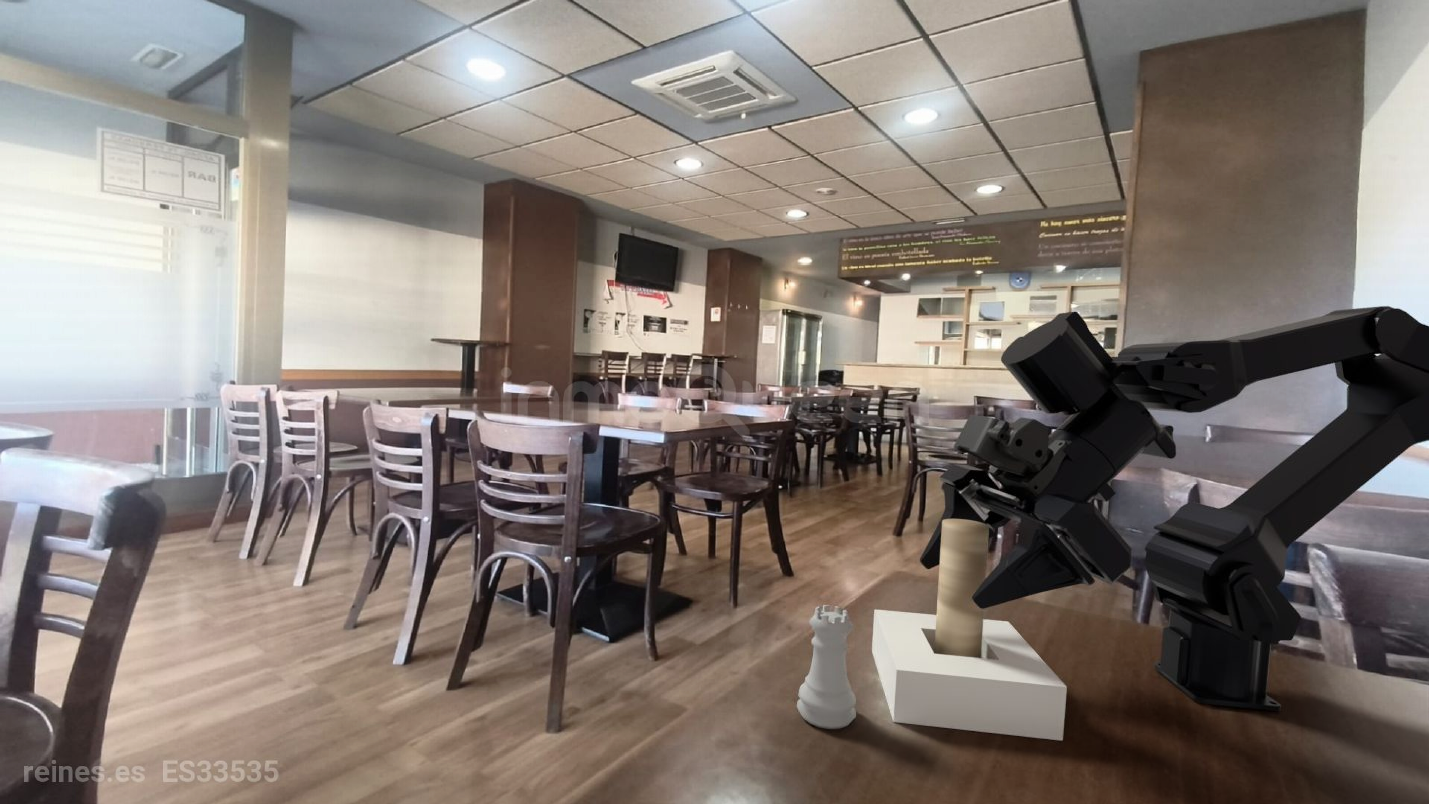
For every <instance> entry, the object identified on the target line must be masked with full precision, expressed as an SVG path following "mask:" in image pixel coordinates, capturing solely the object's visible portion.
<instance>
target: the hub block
mask: <svg viewBox="0 0 1429 804" xmlns="http://www.w3.org/2000/svg"><path fill="white" fill-rule="evenodd" d="M936 616H937V614H929V613H921V612H920V613H919V612H908V611H907V612H905V611H897V610H885V609H874V612H873V626H872V627H873V628H872V640H871V641H872V642H871V643H872V644H871V652H872V657H873V660H874V663H875V666H876V670H877V672H878V673H877V674H878V676H879V679H880V682H881V683H880V684H881V685H882V689H883V692H884V694H885V699H886V702H887V705H888V708H889V712H890V715H891V718H892V722H893V723H901V724H908V725H909V724H910V725H917V726H927V727H936V728H946V729H955V730H961V731H962V730H963V731H974V732H981V733H991V734H998V735H1009V736H1016V737H1017V736H1019V737H1026V738H1036V739H1044V740H1046V739H1047V740H1054V741H1064V740H1063V739H1064V728H1065V717H1066V716H1065V715H1066V703H1067V689H1068V688H1067V685H1066V684H1065V683H1064V682H1063V681H1062V680H1061V679H1060V678H1059V676H1058V675H1057V674H1056V673H1055V672H1054V670H1052V669H1051V667H1049V665H1048V664H1047V663H1046V662H1045V661H1044V660H1043V659H1042V658H1041V656H1040V655H1039V654H1038V653H1037V652H1036V651H1035V649H1033V647H1032V646H1031V645H1030V644H1029V643H1028V642H1027V640H1026V639H1024V638H1023V637H1022V635H1021V634H1020V633H1019V632H1018V631H1017V629H1015V627H1014V626H1013V625H1012V624H1011V623H1010V621H1006V620H994V619H985V618H983V632H982V648H981V658H974V657H964V656H954V655H943V654H934V649H935V632H936Z"/></svg>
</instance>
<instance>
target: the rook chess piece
mask: <svg viewBox="0 0 1429 804" xmlns="http://www.w3.org/2000/svg"><path fill="white" fill-rule="evenodd" d="M830 609H831V608H830V604H827V605H826V604H823V605H822V607H821V606H819V605H818V606H816V607H815V609H814V614H813V616H812V617H811V618H810V619H809V622H808V623H809V625H810V627H811V628H812V629H813V631H814V636H813V638H811V642H810V643H811V644H812V646H813V653H812V660H811V665H810V669H809V671H808V675H806V676H805V678H804V682H803V683H802V684H801V685H800V687H799V690H798V694H797V696H798V697H799V699H798V700H797V702H796V703H797V704H796V708H797V710H798V712H799V713H800V715H801V717H802V718H803V720H805V722H808V723H809V724H810V725H813V726H815V727H817V728H821V729H825V730H840V729H843V728H845V727H848V726H849V725H850V723H852V721H853V720H854V719H855V718H856V717H857V712H856V708H855V706H856V705H857V703H856V701H857V700H856V696H855V694H856V693H854V691H853V690H852V689H851V683H850V682H849V680H848V679H849V678H848V676H847V664H846V663H847V662H846V655H847V654H846V651H847V650H848V649H849V648H850V646H849V645H850V644H849V643H848V642H847V636H848V635H849V634H850V632H852V631H853V629H854V625H853V623H852V622H851V620H850V618H849V616H850V615H849V614H850V613H849V610H847V609H843V610H842V607H840V606H838V605H837V606H836V605H835V606H834V610H833V611H832V610H830Z"/></svg>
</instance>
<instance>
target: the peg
mask: <svg viewBox="0 0 1429 804" xmlns="http://www.w3.org/2000/svg"><path fill="white" fill-rule="evenodd" d="M988 537H989V526H988V525H986V524H984V523H981V522H977V521H972V520H965V519H945V520H943V521H942V532H941V549H940V565H938V566H939V569H938V570H939V571H938V583H937V585H938V586H937V598H936V599H937V601H936V602H937V603H936V604H937V605H936V615H937V616H936V632H935V649H934V654H943V655H954V656H964V657H974V658H981V648H982V632H983V619H984V615H985V614H984V613H985V609H981V608H979V607H978V606H977V605H976V604H975V603H974V602H973V600H972V596H973V594H974V593H975V592H976V590H977V589H978V588H979V586H980V585H981V584H982V582H983V581H984V580H985V579H986V578H987V566H988V552H989V551H988V550H989V549H988V547H989V539H988Z"/></svg>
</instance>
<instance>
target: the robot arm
mask: <svg viewBox="0 0 1429 804" xmlns="http://www.w3.org/2000/svg"><path fill="white" fill-rule="evenodd" d="M1000 358H1001V359H1000V362H1001V363H1002V365H1004V367H1005V368H1006V369H1007V370H1008V372H1010V374H1011V375H1012V376H1013V377H1014V379H1015V380H1016V381H1017V382H1018V384H1019V385H1020V386H1021V387H1022V389H1024V391H1025V392H1026V393H1027V394H1028V395H1029V396H1030V398H1031V399H1032V400H1033V402H1034V403H1035V404H1036V405H1037V406H1038V407H1039V408H1040V409H1041V411H1042V412H1044V413H1046V414H1048V415H1049V414H1053V415H1054V414H1060V413H1061V415H1062V416H1063V415H1064V416H1068V417H1067V418H1066V419H1065V420H1064V421H1063V422H1062V423H1061V424H1060V425H1059V426H1058V427H1057V428H1056V429H1054V431H1052V432H1051V433H1050V427H1049V426H1047V425H1046V424H1044V423H1042V422H1041V421H1038V420H1037V419H1034V418H1028V417H1019V418H1018V419H1016V420H1015V421H1013V422H1012V423H1011V424H1010V422H1008V421H1006V420H1000V419H998V418H994V417H990V416H984V415H978V414H969V416H968V418H967V420H966V422H965V423H964V424H963V427H962V429H961V431H960V433H959V435H958V437H957V438H956V441H955V443H954V445H953V448H954V449H955V450H957V451H958V452H960V453H962V454H966V453H967V454H969V455H971V456H972V457H974V458H976V459H978V460H980V461H982V462H983V463H985V464H987V465H990V466H991V468H990V469H988V471H987V472H988V473H989V474H988V473H987V472H986V471H985V469H983V468H982V469H981V468H978V467H974V466H971V465H968V464H958V463H955V464H954V463H952V465H951V466H949V467H948V469H946V470H945V471H944V472H942V474H941V475H940V476H939V479H940V481H941V482H942V484H941V488H940V489H941V492H942V493H943V495H944V511H943V513H942V516H941V518H940V519H939V522H938V524H937V526H936V528H935V530H934V531H933V533H932V535H931V537H930V539H929V541H928V542H927V545H926V547H925V548H924V550H923V552H922V554H921V556H920V558H919V562H920V564H921V565H922V566H923V567H924V568H925V569H926V570H931V569H933V568H935V567H937V566H940V549H941V532H942V521H943V520H945V519H965V520H972V521H977V522H981V523H984V524H986V525H988V526H989V537H988V540H990V539H992V538H994V537H995V536H996V535H997V534H996V533H995V531H994V530H996V529H999V528H1003V527H1005V526H1006V525H1008V523H1009V522H1010V521H1014V522H1017V523H1019V529H1018V535H1017V536H1018V537H1017V541H1016V543H1015V545H1014V546H1013V547H1012V548H1011V550H1009V552H1008V553H1007V554H1006V555H1005V556H1004V557H1003V558H1002V560H1000V562H999V563H998V564H997V565H996V567H995V568H994V569H993V570H992V571H991V572H990V573H989V574H988V575H987V576H986V579H985V580H984V581H983V582H982V584H981V585H980V586H979V588H978V589H977V590H976V592H975V593H974V594H973V596H972V600H973V602H974V603H975V604H976V605H977V606H978V607H979V608H981V609H984V610H985V609H987V608H991V607H992V608H993V607H995V606H998V605H1002V604H1005V603H1008V602H1012V601H1015V600H1019V599H1022V598H1026V597H1029V596H1033V595H1036V594H1040V593H1041V594H1042V593H1044V592H1049V591H1054V590H1059V589H1063V588H1067V587H1072V586H1077V585H1083V584H1084V585H1086V586H1088V587H1089V586H1092V585H1093V584H1094V583H1095V582H1096V580H1095V579H1094V578H1096V579H1097V580H1100V581H1102V582H1104V583H1106V584H1108V585H1110V586H1112V585H1113V584H1114V583H1115V582H1116V581H1117V580H1119V579H1120V578H1121V577H1122V575H1124V574H1125V572H1127V571H1128V570H1129V569H1130V568H1131V561H1132V548H1131V546H1130V545H1129V544H1128V543H1127V541H1126V540H1125V539H1124V538H1123V537H1122V535H1121V534H1120V533H1119V532H1118V531H1117V530H1116V528H1115V527H1114V526H1113V524H1111V523H1110V522H1109V520H1108V519H1107V518H1106V517H1105V516H1104V515H1103V513H1102V512H1101V511H1100V510H1099V508H1098V507H1097V505H1095V504H1094V503H1091V501H1092V500H1093V499H1096V500H1100V501H1103V502H1106V503H1107V502H1108V501H1110V500H1111V499H1112V498H1113V497H1114V496H1115V495H1116V491H1114V489H1113V488H1112V487H1111V486H1110V485H1109V484H1110V483H1111V482H1112V481H1113V480H1114V479H1115V478H1116V477H1117V476H1118V475H1120V473H1122V471H1123V470H1124V469H1126V468H1127V467H1128V466H1129V465H1130V464H1131V463H1132V462H1134V460H1135V459H1136V458H1137V457H1138V456H1139V455H1146V456H1151V457H1158V458H1163V459H1170V460H1172V459H1175V458H1176V457H1177V446H1176V443H1175V439H1174V427H1173V426H1172V425H1169V424H1160V423H1159V422H1158V421H1157V420H1156V419H1155V417H1154V415H1153V414H1152V413H1151V412H1150V411H1151V410H1152V411H1160V412H1161V411H1162V412H1172V413H1173V412H1174V413H1186V414H1187V413H1189V414H1193V413H1196V414H1197V413H1202V412H1205V411H1208V410H1210V409H1212V408H1214V407H1217V406H1219V405H1221V404H1224V403H1226V402H1228V401H1230V400H1233V399H1235V398H1237V397H1238V396H1239V395H1240V394H1241V393H1242V392H1243V390H1244V389H1245V388H1246V387H1248V386H1250V385H1252V384H1254V383H1256V382H1259V381H1263V380H1265V381H1266V380H1269V379H1272V378H1277V377H1281V376H1285V375H1290V374H1293V373H1298V372H1301V371H1306V370H1310V369H1314V368H1318V367H1319V368H1320V367H1323V366H1328V365H1332V364H1334V368H1335V373H1336V377H1337V379H1339V380H1340V381H1342V382H1343V383H1344V384H1346V385H1347V387H1346V409H1344V411H1343V412H1342V413H1340V414H1339V415H1338V416H1336V418H1334V419H1333V420H1332V421H1330V422H1329V423H1328V424H1326V426H1324V427H1323V428H1322V429H1321V430H1319V431H1318V432H1317V433H1316V434H1314V435H1313V436H1312V437H1310V439H1308V440H1307V441H1306V442H1305V443H1303V444H1302V445H1301V446H1300V447H1299V448H1297V449H1296V450H1295V451H1294V452H1293V453H1291V454H1290V455H1289V456H1288V457H1285V459H1283V460H1282V461H1281V462H1280V463H1278V465H1276V466H1275V467H1274V468H1273V469H1271V470H1270V471H1269V472H1268V473H1266V474H1265V475H1264V476H1262V478H1260V479H1259V480H1257V481H1256V482H1255V483H1254V484H1253V485H1252V486H1251V487H1249V488H1248V489H1246V490H1245V491H1244V492H1243V493H1242V494H1241V495H1239V496H1238V497H1237V498H1235V500H1233V501H1232V502H1231V503H1229V504H1227V505H1225V506H1222V507H1214V506H1211V505H1207V504H1202V503H1198V502H1194V501H1188V502H1187V503H1185V504H1183V505H1182V506H1180V507H1179V508H1178V510H1177V511H1176V512H1175V513H1174V514H1172V516H1171V517H1170V518H1169V519H1167V520H1166V521H1164V522H1162V523H1159V524H1156V525H1154V526H1153V529H1154V530H1155V531H1158V532H1156V533H1155V534H1154V535H1153V536H1152V537H1151V539H1149V540H1148V542H1147V543H1146V545H1145V547H1144V551H1145V559H1144V564H1145V570H1146V571H1145V572H1146V574H1147V575H1148V577H1149V580H1150V582H1151V585H1152V587H1153V589H1152V590H1153V593H1154V595H1155V600H1156V601H1157V602H1158V603H1161V604H1163V605H1164V604H1165V605H1167V606H1169V607H1171V608H1173V609H1171V608H1170V609H1169V618H1168V626H1167V625H1166V626H1164V628H1163V629H1162V640H1161V653H1160V662H1157V661H1156V662H1153V663H1154V664H1153V665H1154V666H1153V668H1154V669H1155V670H1156V671H1157V672H1158V673H1160V675H1162V676H1163V677H1164V678H1166V680H1168V681H1169V682H1171V683H1172V684H1173V685H1174V686H1176V687H1177V688H1179V689H1180V690H1181V691H1182V692H1184V694H1186V695H1187V696H1188V697H1189V698H1191V699H1192V700H1193V701H1195V702H1197V703H1201V704H1207V705H1216V706H1224V707H1225V706H1226V707H1235V708H1242V709H1243V708H1245V709H1252V710H1254V709H1256V710H1264V711H1265V710H1266V711H1274V712H1280V711H1281V710H1282V705H1281V703H1279V702H1278V701H1277V700H1275V699H1274V698H1272V697H1271V696H1269V695H1267V693H1268V691H1267V689H1268V682H1269V681H1268V680H1269V670H1270V659H1271V658H1270V657H1271V649H1272V647H1271V646H1272V645H1279V642H1280V641H1282V642H1283V641H1288V642H1290V641H1292V640H1293V639H1294V636H1295V635H1296V632H1297V629H1298V627H1299V625H1300V622H1301V619H1302V616H1301V614H1300V613H1299V612H1298V611H1297V609H1296V608H1295V607H1294V606H1293V605H1292V603H1291V602H1290V601H1289V600H1288V598H1287V597H1286V596H1285V594H1283V593H1282V592H1281V591H1280V589H1279V588H1278V586H1279V585H1280V584H1282V582H1283V580H1284V579H1285V576H1286V567H1287V566H1286V565H1287V555H1288V548H1289V547H1290V546H1291V545H1292V544H1293V543H1295V542H1296V541H1297V540H1298V539H1299V538H1301V537H1302V536H1303V535H1304V534H1306V533H1307V532H1308V531H1310V530H1311V528H1313V527H1314V526H1316V525H1317V524H1318V523H1319V522H1320V521H1321V520H1323V519H1325V518H1326V516H1328V514H1330V513H1331V512H1332V511H1334V510H1335V509H1336V508H1337V507H1338V506H1340V505H1341V504H1342V503H1344V502H1345V501H1346V500H1347V499H1349V497H1351V496H1352V495H1353V494H1355V493H1356V492H1357V491H1359V489H1361V488H1362V487H1363V486H1364V485H1365V484H1366V483H1368V482H1369V481H1371V480H1372V479H1374V477H1375V476H1376V475H1378V474H1379V473H1380V472H1381V471H1383V470H1384V469H1385V468H1386V467H1387V466H1388V465H1390V464H1391V463H1392V462H1394V461H1395V460H1396V459H1397V458H1398V457H1400V456H1401V455H1402V454H1403V453H1404V452H1405V451H1407V450H1408V449H1410V448H1411V447H1412V446H1414V445H1417V444H1422V443H1424V442H1425V443H1426V442H1428V441H1429V325H1428V324H1424V323H1422V322H1420V321H1419V320H1417V319H1416V318H1415V317H1413V316H1412V315H1411V314H1410V313H1408V312H1407V311H1405V310H1404V309H1401V308H1395V307H1392V306H1389V305H1387V306H1386V305H1385V306H1384V305H1383V306H1381V305H1380V306H1371V307H1360V308H1359V307H1358V308H1347V309H1336V310H1333V311H1330V312H1329V313H1327V314H1324V315H1322V316H1317V317H1313V318H1307V319H1304V320H1301V321H1300V320H1299V321H1297V322H1296V321H1295V322H1292V323H1288V324H1282V325H1279V326H1274V327H1269V328H1266V329H1260V330H1257V331H1252V332H1247V333H1244V334H1243V333H1242V334H1239V335H1236V336H1232V337H1231V336H1230V337H1227V338H1222V339H1217V340H1214V339H1213V340H1194V341H1176V342H1174V341H1173V342H1156V343H1153V342H1152V343H1137V344H1132V345H1129V346H1127V347H1125V348H1123V349H1122V350H1120V351H1119V352H1118V353H1117V356H1110V354H1109V353H1108V352H1107V350H1106V349H1105V348H1104V346H1102V344H1101V343H1100V342H1099V341H1098V339H1097V338H1096V336H1095V335H1094V334H1093V333H1092V332H1091V330H1090V328H1089V327H1088V324H1087V323H1086V321H1085V320H1084V318H1083V317H1082V316H1081V314H1080V313H1079V312H1078V311H1068V312H1062V313H1061V312H1060V313H1058V314H1057V315H1056V316H1055V317H1054V318H1053V319H1051V321H1048V322H1046V323H1043V324H1042V325H1039V326H1037V327H1035V328H1034V329H1032V330H1030V331H1029V332H1027V333H1025V335H1024V336H1019V337H1017V338H1016V339H1015V340H1014V341H1012V342H1011V343H1010V345H1008V347H1006V349H1005V350H1004V351H1003V352H1002V355H1001V357H1000ZM1149 410H1150V411H1149ZM1049 433H1050V434H1049ZM991 477H992V478H993V479H994V480H995V481H996V482H998V483H999V484H1000V485H1001V487H999V485H997V484H996V482H995V481H994V480H993V479H992V478H991ZM992 529H993V530H992Z"/></svg>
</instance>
